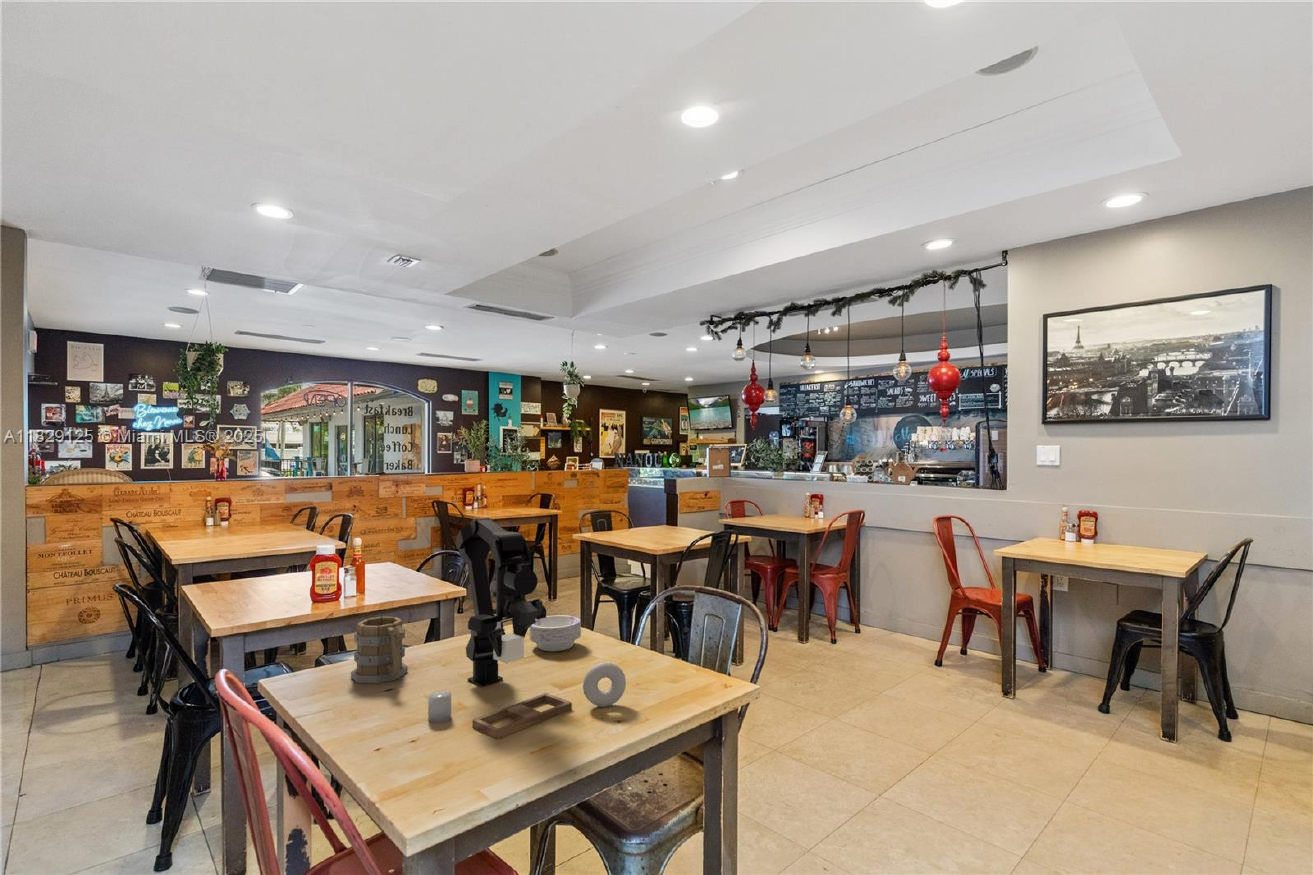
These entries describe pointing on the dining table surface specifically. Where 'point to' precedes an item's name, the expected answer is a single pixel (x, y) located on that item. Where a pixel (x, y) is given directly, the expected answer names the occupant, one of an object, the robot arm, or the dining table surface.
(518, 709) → the walnut caddy
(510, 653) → the white rounded cube
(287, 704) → the dining table surface
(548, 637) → the paper bowls
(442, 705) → the salt cellar
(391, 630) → the tankard
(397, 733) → the dining table surface
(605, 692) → the donut
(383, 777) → the dining table surface
